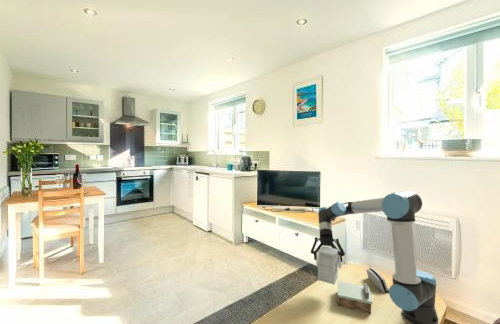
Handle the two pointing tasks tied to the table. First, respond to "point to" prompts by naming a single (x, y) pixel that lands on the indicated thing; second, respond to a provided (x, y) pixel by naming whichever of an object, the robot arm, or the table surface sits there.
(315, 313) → the table surface
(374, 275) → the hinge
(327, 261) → the supplement box
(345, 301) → the brown wooden box
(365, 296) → the lid
